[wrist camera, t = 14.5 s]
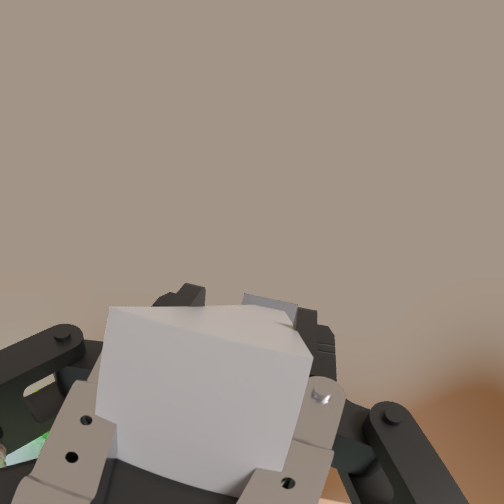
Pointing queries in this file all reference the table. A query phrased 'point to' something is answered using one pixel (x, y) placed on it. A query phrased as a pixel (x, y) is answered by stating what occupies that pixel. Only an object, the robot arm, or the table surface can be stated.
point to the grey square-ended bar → (204, 389)
